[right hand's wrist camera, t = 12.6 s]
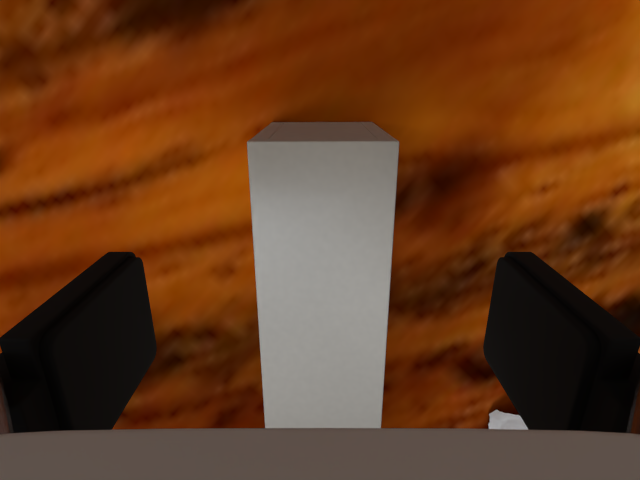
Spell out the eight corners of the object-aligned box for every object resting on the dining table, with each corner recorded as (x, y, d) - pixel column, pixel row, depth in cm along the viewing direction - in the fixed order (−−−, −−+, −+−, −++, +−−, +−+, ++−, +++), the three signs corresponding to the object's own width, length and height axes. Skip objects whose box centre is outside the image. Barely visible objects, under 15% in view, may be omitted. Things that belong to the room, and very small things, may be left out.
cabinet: (363, 342, 32) (380, 440, 23) (280, 342, 32) (265, 441, 23) (372, 121, 26) (399, 141, 17) (271, 122, 26) (246, 141, 17)
